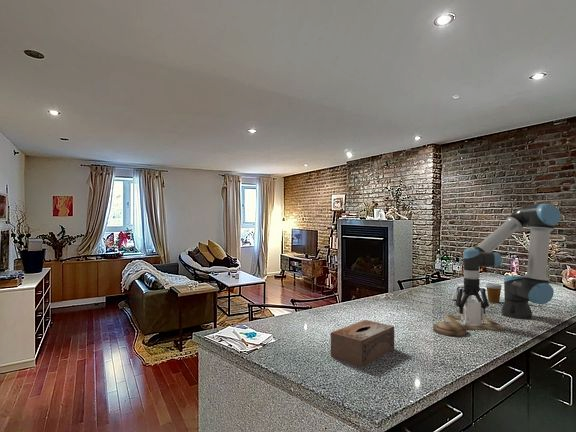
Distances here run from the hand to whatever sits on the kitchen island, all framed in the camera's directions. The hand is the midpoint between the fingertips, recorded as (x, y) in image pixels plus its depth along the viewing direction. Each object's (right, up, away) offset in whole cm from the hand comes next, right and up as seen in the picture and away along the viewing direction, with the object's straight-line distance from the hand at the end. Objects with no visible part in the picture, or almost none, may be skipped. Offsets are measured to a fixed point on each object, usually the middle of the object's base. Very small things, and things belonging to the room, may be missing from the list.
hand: (472, 319), depth 185 cm
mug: (-1, -2, 0) cm, 2 cm away
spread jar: (+20, -3, +53) cm, 57 cm away
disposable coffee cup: (+41, -3, +50) cm, 65 cm away
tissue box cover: (-68, -2, -41) cm, 79 cm away
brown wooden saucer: (-19, -2, -14) cm, 23 cm away
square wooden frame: (0, -2, 0) cm, 2 cm away
